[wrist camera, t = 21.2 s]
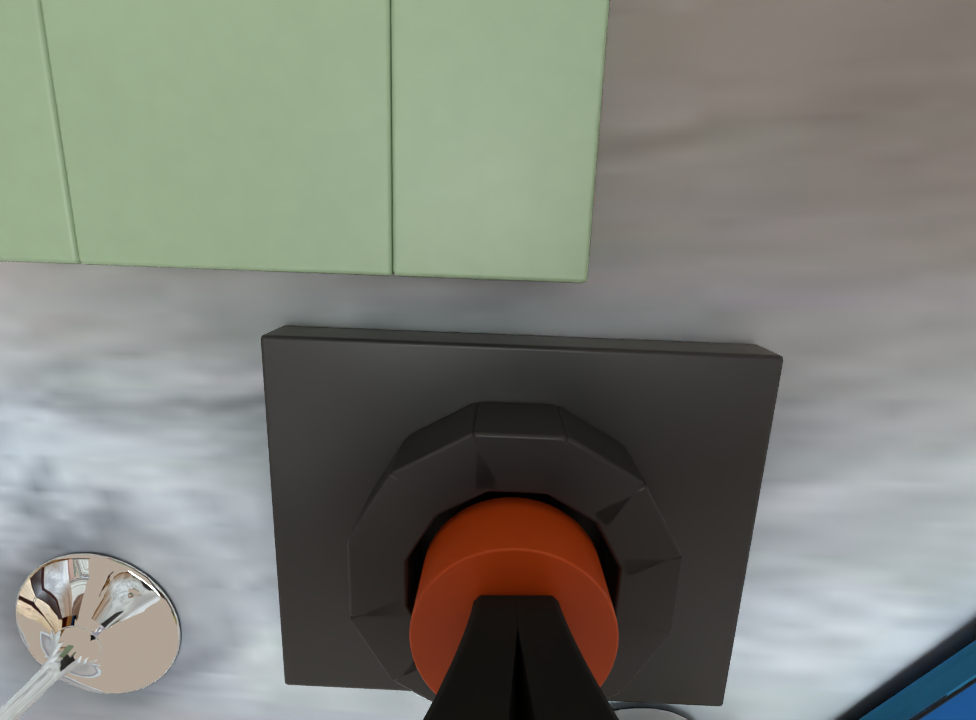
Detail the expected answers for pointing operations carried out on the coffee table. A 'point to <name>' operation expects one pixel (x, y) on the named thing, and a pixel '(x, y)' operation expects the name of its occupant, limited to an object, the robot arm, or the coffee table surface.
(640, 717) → the supplement bottle
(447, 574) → the button
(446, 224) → the pod holder
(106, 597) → the wineglass
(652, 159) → the coffee table surface
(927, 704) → the smartphone
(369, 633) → the panel
